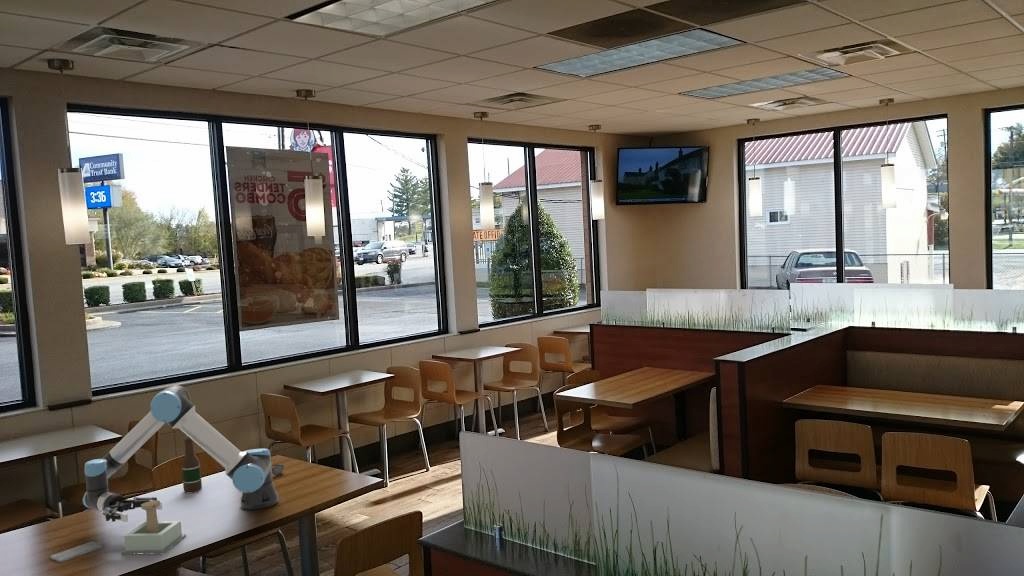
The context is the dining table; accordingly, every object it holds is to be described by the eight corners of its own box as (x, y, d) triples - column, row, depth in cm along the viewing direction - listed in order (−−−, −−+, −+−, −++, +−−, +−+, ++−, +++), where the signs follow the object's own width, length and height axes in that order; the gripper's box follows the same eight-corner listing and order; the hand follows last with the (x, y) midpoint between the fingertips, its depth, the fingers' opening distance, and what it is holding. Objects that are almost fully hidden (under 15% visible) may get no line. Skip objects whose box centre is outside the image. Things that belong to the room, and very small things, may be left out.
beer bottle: (195, 493, 357) (190, 440, 355) (180, 493, 358) (175, 440, 357) (205, 487, 364) (201, 435, 362) (190, 487, 366) (185, 435, 364)
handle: (142, 544, 296) (138, 504, 295) (159, 538, 301) (155, 499, 300) (149, 547, 293) (145, 507, 292) (165, 541, 298) (162, 501, 297)
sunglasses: (256, 483, 367) (255, 472, 367) (238, 481, 379) (237, 470, 379) (288, 473, 379) (286, 463, 379) (270, 471, 391) (268, 461, 391)
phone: (104, 547, 299) (104, 544, 299) (60, 563, 286) (59, 560, 286) (93, 543, 304) (93, 540, 304) (49, 559, 291) (49, 556, 291)
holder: (186, 536, 304) (184, 519, 303) (163, 553, 288) (161, 536, 288) (146, 537, 306) (144, 520, 305) (121, 554, 290) (119, 537, 289)
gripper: (143, 503, 320) (175, 510, 309) (81, 524, 300) (112, 533, 288) (141, 484, 320) (173, 491, 308) (79, 504, 299) (110, 513, 287)
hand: (144, 511), depth 298 cm, fingers open, 13 cm apart
